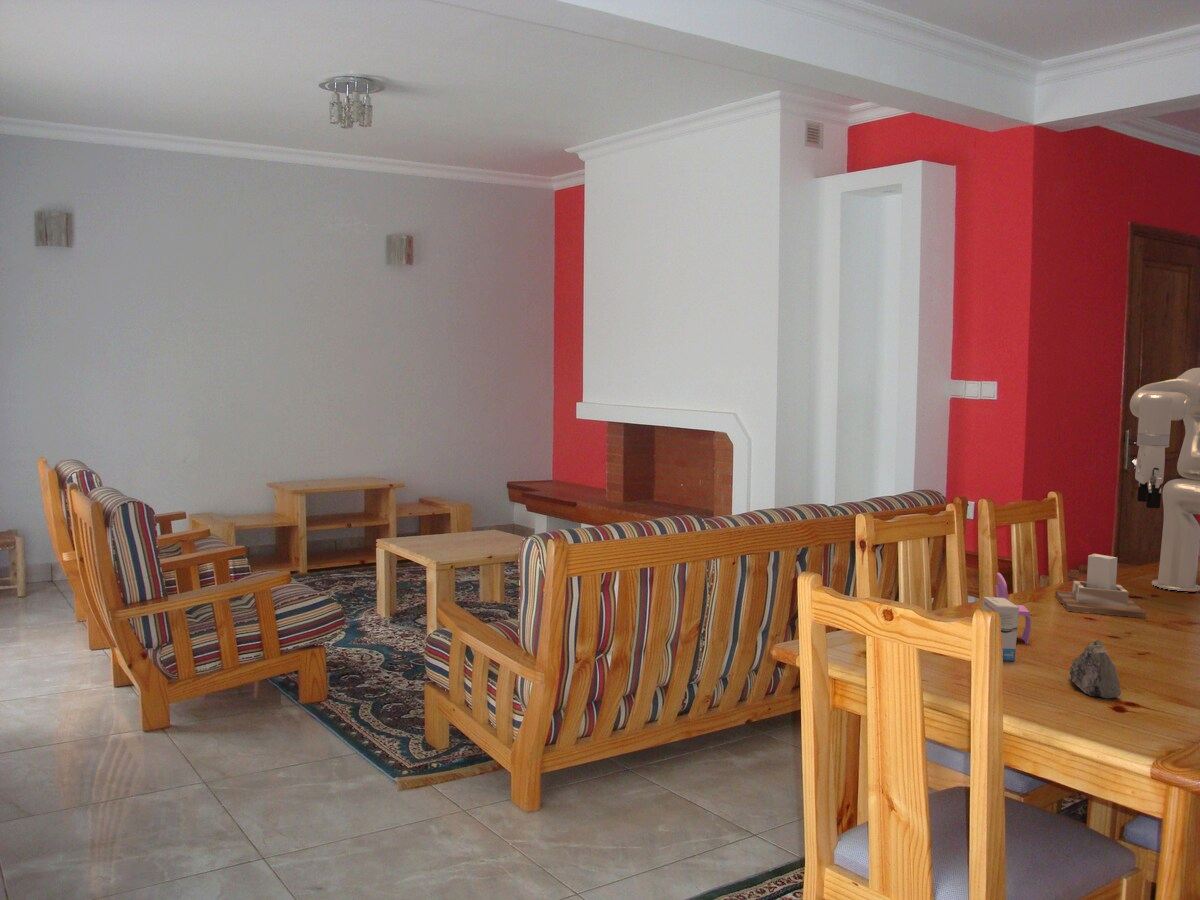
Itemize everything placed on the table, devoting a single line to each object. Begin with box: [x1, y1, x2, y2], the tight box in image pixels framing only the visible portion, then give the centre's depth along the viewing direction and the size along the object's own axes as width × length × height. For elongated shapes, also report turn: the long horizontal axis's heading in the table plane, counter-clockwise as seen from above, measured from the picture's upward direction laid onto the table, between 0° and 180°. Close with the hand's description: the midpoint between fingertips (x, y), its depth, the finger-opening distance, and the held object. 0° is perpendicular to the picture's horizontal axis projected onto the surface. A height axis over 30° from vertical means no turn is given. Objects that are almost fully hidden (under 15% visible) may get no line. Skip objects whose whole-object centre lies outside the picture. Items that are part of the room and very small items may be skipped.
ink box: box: [982, 596, 1020, 662], centre depth 221 cm, size 8×5×12 cm, turn 179°
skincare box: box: [1086, 553, 1118, 590], centre depth 269 cm, size 6×4×12 cm
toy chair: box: [995, 572, 1032, 645], centre depth 234 cm, size 8×9×15 cm
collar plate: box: [1054, 580, 1147, 619], centre depth 270 cm, size 18×18×6 cm
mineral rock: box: [1069, 639, 1122, 700], centre depth 200 cm, size 13×11×10 cm
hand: (1148, 504), depth 274 cm, fingers open, 9 cm apart
